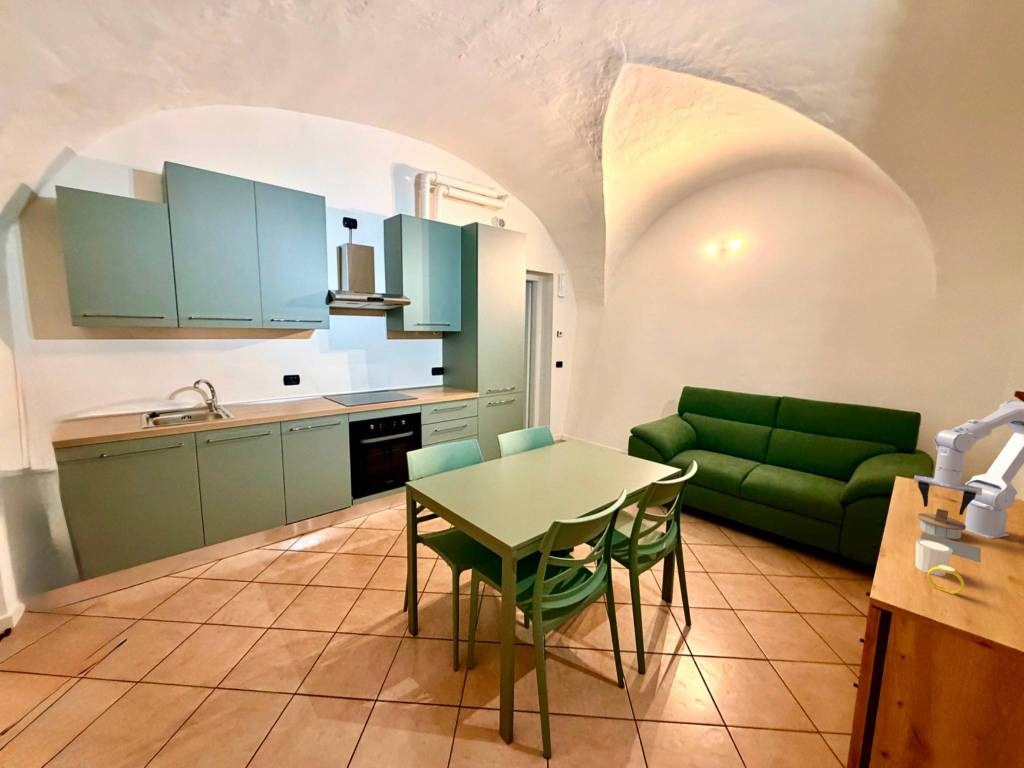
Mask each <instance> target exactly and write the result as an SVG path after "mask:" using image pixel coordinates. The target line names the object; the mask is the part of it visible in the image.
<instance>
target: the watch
mask: <svg viewBox="0 0 1024 768" xmlns="http://www.w3.org/2000/svg"><path fill="white" fill-rule="evenodd" d="M935 570H941V571H943V572H946V574H951V575H954V576H955V577H956V578H958V580H959V583H960V587H959V588H958V589H955V590H954V589H953V590H951V589H948V588H945V587H942V586H938V585H937V584H936V583H934V581H933V579H932V578H931V575H932V574H931V572H933V571H935ZM927 581H928V583H929V584H930V585H931V586H932V587H933V589H935V590H938V591H942V592H945V593H948V594H950V595H955V594H960V593H961V592H962V591H963V590H964V588H965V586H964V585H965V581H964V579H963V577H962V576H961V575H960V574H959V573H958V572H957V571H956V569H955V568H953V567H950V566H949V565H948V566H945V565H939V566H938V567H933V568H932V569H930V570H929V572H928V573H927Z"/></svg>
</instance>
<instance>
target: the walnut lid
mask: <svg viewBox="0 0 1024 768" xmlns="http://www.w3.org/2000/svg"><path fill="white" fill-rule="evenodd" d="M948 515H949V510H945V509H940V508H937V509H936V514H935V513H926V512H924V513H923V512H921V513H918V514H917V518H918V519H919V521H920V520H922V521H924V522H926V523H928V524H931V525H934V526H938V527H942V528H946V529H952V530H962V531H965V530H964V529H966V526H965V523H963V522H962V521H959V520H956V519H954V518H950V517H948Z"/></svg>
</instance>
